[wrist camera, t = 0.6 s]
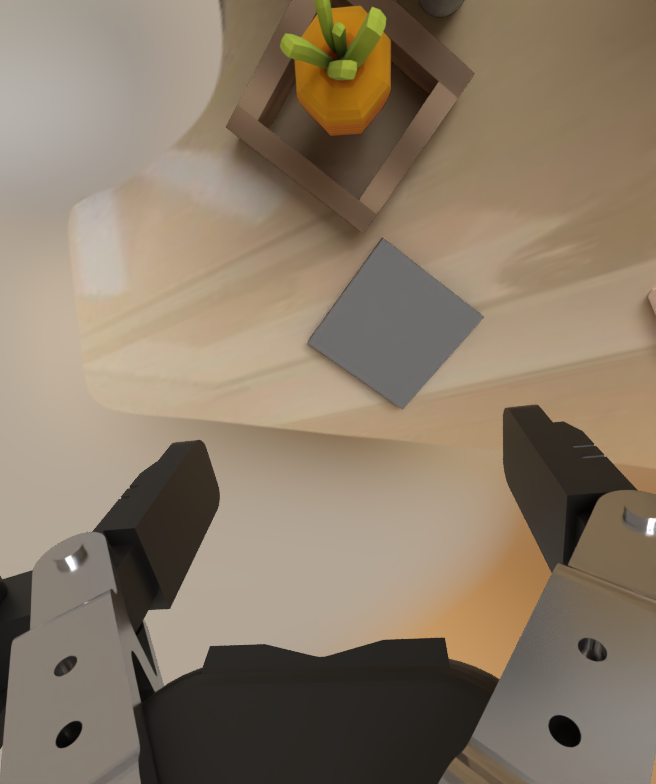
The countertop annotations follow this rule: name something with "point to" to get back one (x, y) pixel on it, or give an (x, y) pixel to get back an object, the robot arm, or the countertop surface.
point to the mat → (394, 325)
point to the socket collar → (408, 52)
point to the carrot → (342, 67)
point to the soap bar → (653, 299)
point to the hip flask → (440, 7)
